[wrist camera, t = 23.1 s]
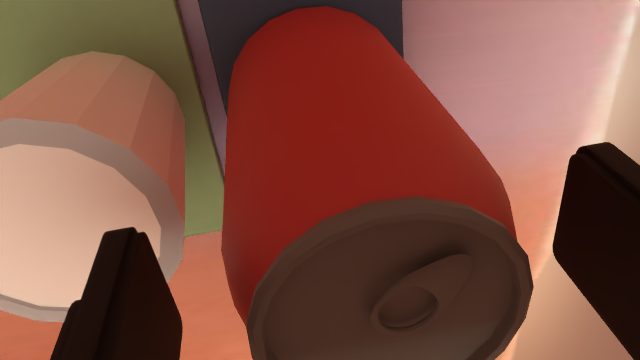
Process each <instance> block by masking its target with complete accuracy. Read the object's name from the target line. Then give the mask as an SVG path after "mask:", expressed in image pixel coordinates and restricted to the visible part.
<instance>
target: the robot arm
mask: <svg viewBox="0 0 640 360" xmlns="http://www.w3.org/2000/svg"><path fill="white" fill-rule="evenodd" d="M553 253H554V256H555V258H556V260H557V262H558V263H559V264H560V265H561V267H562V268H563V269H564V271H565V272H566V273H567V275H568V276H569V277H570V278H571V279H572V281H573V282H574V283H575V285H576V286H577V287H578V289H579V290H580V291H581V293H582V294H583V295H584V296H585V298H586V299H587V300H588V301H589V303H590V304H591V305H592V307H593V308H594V309H595V310H596V312H597V313H598V314H599V315H600V317H601V318H602V319H603V321H604V322H605V323H606V324H607V326H608V327H609V328H610V330H611V331H612V332H613V334H614V335H615V336H616V337H617V338H618V340H619V341H620V342H621V344H622V345H623V346H624V348H625V349H626V350H627V351H628V353H629V354H630V355H631V357H632V358H633V359H634V360H640V165H638V164H637V163H636V162H635V161H633V160H632V159H631V158H630V157H628V156H627V155H626V154H624V153H623V152H622V151H621V150H619V149H618V148H617V147H616V146H614V145H613V144H611V143H609V142H604V143H599V144H593V145H587V146H582V147H580V148H579V149H578V150H577V152H576V154H574V155H572V156H571V158H570V160H569V165H568V170H567V175H566V180H565V185H564V190H563V195H562V200H561V205H560V211H559V216H558V221H557V226H556V231H555V236H554V241H553ZM181 340H182V320H181V316H180V314H179V311H178V309H177V306H176V304H175V301H174V299H173V297H172V294H171V292H170V289H169V287H168V284H167V282H166V280H165V277H164V275H163V272H162V270H161V267H160V265H159V262H158V260H157V258H156V255H155V253H154V250H153V248H152V245H151V243H150V241H149V238H148V236H147V234H146V233H145V232H139V233H138V232H137V230H136V229H135V228H134V227H128V228H122V229H117V230H111V231H106V232H105V233H104V234H103V236H102V239H101V242H100V245H99V248H98V251H97V254H96V257H95V259H94V262H93V265H92V268H91V271H90V274H89V277H88V280H87V283H86V285H85V288H84V291H83V294H82V297H81V299H80V300H75V301H74V302H73V303H72V304H71V306H70V308H69V310H68V312H67V315H66V317H65V320H64V323H63V326H62V328H61V331H60V334H59V337H58V339H57V342H56V345H55V348H54V350H53V353H52V356H51V359H50V360H179V358H180V349H181Z"/></svg>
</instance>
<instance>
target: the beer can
mask: <svg viewBox="0 0 640 360" xmlns="http://www.w3.org/2000/svg"><path fill="white" fill-rule="evenodd" d="M221 251H222V256H223V261H224V265H225V270H226V275H227V280H228V285H229V288H230V292H231V295H232V299H233V302H234V306H235V308H236V309H237V311H238V313H239V315H240V317H241V318H242V320H243V322H244V324H245V326H246V328H247V334H248V339H249V344H250V350H251V355H252V358H253V360H495V359H496V358H497V357H498V356H499V355H500V354H501V353H502V352H503V351H505V349H506V348H507V346H508V345H509V343H510V341H511V340H512V338H513V337H514V335H515V334H516V332H517V331H518V329H519V328H520V326H521V325H522V323H523V322H524V320H525V318H526V315H527V311H528V307H529V302H530V299H531V295H532V291H533V287H534V286H533V281H532V275H531V270H530V265H529V259H528V255H527V254H526V253H525V251H524V250H523V249H522V247H521V246H520V245H519V243H518V242H517V237H516V231H515V226H514V221H513V216H512V211H511V206H510V201H509V199H508V196H507V193H506V191H505V188H504V185H503V183H502V180H501V179H500V177H499V176H498V174H497V173H496V172H495V170H494V169H493V167H492V166H491V165H490V163H489V162H488V161H487V159H486V158H485V156H484V155H483V154H482V152H481V151H480V149H479V148H478V147H477V146H476V145H475V143H474V142H473V141H472V140H471V139H470V138H469V136H468V135H467V134H466V133H465V132H464V130H463V129H462V128H461V127H460V126H459V125H458V123H457V122H456V121H455V120H454V119H453V117H452V116H451V115H450V114H449V113H448V111H447V110H446V109H445V108H444V107H443V106H442V104H441V103H440V102H439V101H438V100H437V98H436V97H435V96H434V95H433V94H432V93H431V91H430V90H429V89H428V88H427V87H426V85H425V84H424V83H423V82H422V81H421V79H420V78H419V77H418V76H417V75H416V74H415V72H414V71H413V70H412V69H411V68H410V66H409V65H408V64H407V63H406V62H405V61H404V59H403V58H402V57H401V56H400V55H399V53H398V52H397V51H396V50H395V49H394V47H393V46H392V45H391V44H390V43H389V42H388V40H387V39H386V38H385V37H384V36H383V34H382V33H381V32H380V31H379V30H378V29H377V28H376V27H375V26H373V25H372V24H370V23H369V22H367V21H366V20H364V19H362V18H361V17H359V16H358V15H356V14H355V13H352V12H348V11H344V10H340V9H336V8H332V7H328V6H322V7H310V8H298V9H295V10H293V11H290V12H288V13H286V14H283V15H281V16H279V17H276V18H274V19H272V20H269V21H268V22H267V23H266V24H265V25H264V26H263V27H261V28H260V29H259V30H258V31H257V32H256V33H255V34H254V35H252V36H251V37H250V38H249V39H248V40H247V42H246V43H245V45H244V47H243V49H242V51H241V52H240V54H239V56H238V58H237V59H236V61H235V63H234V65H233V70H232V76H231V81H230V86H229V95H228V116H227V138H226V160H225V182H224V204H223V225H222V247H221Z"/></svg>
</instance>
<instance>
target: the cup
mask: <svg viewBox="0 0 640 360" xmlns="http://www.w3.org/2000/svg"><path fill="white" fill-rule="evenodd" d="M128 227H134V228H135V229H136V230H137V232H138V233H139V232H145V233H146V234H147V236H148V238H149V241H150V243H151V245H152V248H153V250H154V253H155V255H156V258H157V260H158V262H159V265H160V267H161V270H162V272H163V275H164V277H165V280H166V282H167V283H168V282H169V280H170V279H171V277H172V276H173V274H174V273H175V271H176V270H177V268H178V267H179V265H180V264H181V262H182V258H183V245H184V231H185V118H184V115H183V113H182V110H181V108H180V105H179V102H178V100H177V97H176V95H175V93H174V92H173V91H172V90H171V89H170V87H169V86H168V85H167V84H166V83H165V82H164V81H163V80H162V79H161V78H160V77H159V76H158V74H157V73H156V72H155V71H153V70H151V69H150V68H148V67H146V66H144V65H142V64H140V63H138V62H136V61H134V60H132V59H130V58H128V57H127V56H124V55H117V54H110V53H103V52H96V51H90V52H86V53H82V54H78V55H73V56H69V57H65V58H61V59H60V60H59V61H57V62H56V63H54V64H53V65H51V66H50V67H48V68H47V69H45V70H44V71H42V72H41V73H40V74H38V75H37V76H35V77H34V78H32V79H31V80H29V81H28V82H26V83H25V84H24V85H22V86H21V87H19V88H18V89H16V90H15V91H13V92H12V93H10V94H9V95H8V96H6V97H5V98H3V99H2V100H0V310H1V311H4V312H8V313H11V314H15V315H18V316H22V317H25V318H28V319H32V320H35V321H46V322H64V320H65V317H66V315H67V312H68V310H69V308H70V306H71V304H72V303H73V302H74V301H75V300H80V299H81V297H82V294H83V291H84V288H85V285H86V283H87V280H88V277H89V274H90V271H91V268H92V265H93V262H94V259H95V257H96V254H97V251H98V248H99V245H100V242H101V239H102V236H103V234H104V233H105V232H106V231H111V230H117V229H122V228H128Z"/></svg>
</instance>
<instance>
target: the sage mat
mask: <svg viewBox="0 0 640 360" xmlns="http://www.w3.org/2000/svg"><path fill="white" fill-rule="evenodd" d="M90 51H96V52H103V53H110V54H117V55H124V56H127V57H128V58H130V59H132V60H134V61H136V62H138V63H140V64H142V65H144V66H146V67H148V68H150V69H151V70H153V71H155V72H156V73H157V74H158V76H159V77H160V78H161V79H162V80H163V81H164V82H165V83H166V84H167V85H168V86H169V87H170V89H171V90H172V91H173V92H174V93H175V95H176V97H177V100H178V102H179V105H180V108H181V110H182V113H183V115H184V118H185V231H184V237H187V236H193V235H198V234H204V233H210V232H215V231H221V230H222V225H223V204H224V182H225V179H224V175H223V172H222V168H221V164H220V160H219V157H218V153H217V149H216V146H215V142H214V138H213V134H212V131H211V127H210V123H209V120H208V116H207V112H206V108H205V105H204V101H203V97H202V94H201V90H200V86H199V82H198V79H197V75H196V71H195V68H194V64H193V60H192V56H191V53H190V49H189V45H188V42H187V38H186V34H185V30H184V27H183V23H182V19H181V16H180V12H179V8H178V4H177V1H176V0H0V100H2V99H3V98H5V97H6V96H8V95H9V94H10V93H12V92H13V91H15V90H16V89H18V88H19V87H21V86H22V85H24V84H25V83H26V82H28V81H29V80H31V79H32V78H34V77H35V76H37V75H38V74H40V73H41V72H42V71H44V70H45V69H47V68H48V67H50V66H51V65H53V64H54V63H56V62H57V61H59V60H60V59H61V58H65V57H69V56H73V55H78V54H82V53H86V52H90Z"/></svg>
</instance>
